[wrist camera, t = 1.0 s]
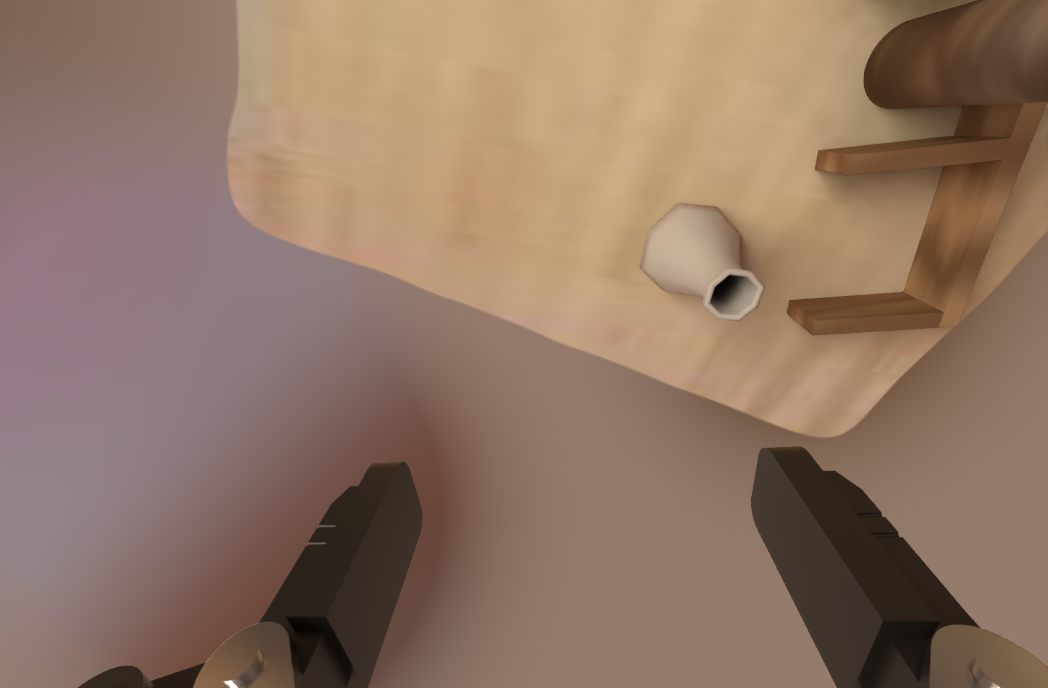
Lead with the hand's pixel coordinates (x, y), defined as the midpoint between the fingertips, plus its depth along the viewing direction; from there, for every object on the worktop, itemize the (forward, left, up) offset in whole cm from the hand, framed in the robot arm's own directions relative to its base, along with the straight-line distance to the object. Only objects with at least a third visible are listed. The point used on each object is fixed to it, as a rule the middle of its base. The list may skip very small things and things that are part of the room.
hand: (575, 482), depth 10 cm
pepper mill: (-8, +22, -26) cm, 35 cm away
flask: (+3, +10, -27) cm, 28 cm away
